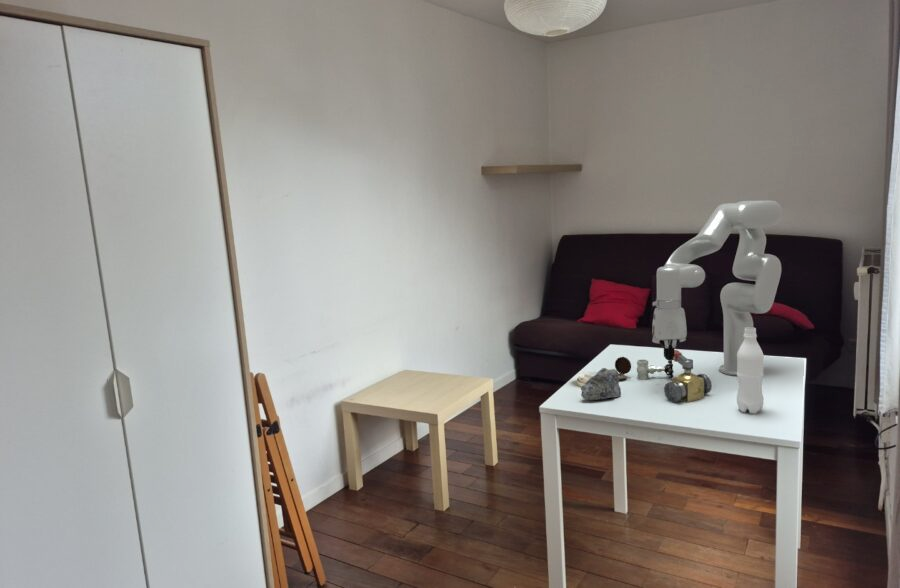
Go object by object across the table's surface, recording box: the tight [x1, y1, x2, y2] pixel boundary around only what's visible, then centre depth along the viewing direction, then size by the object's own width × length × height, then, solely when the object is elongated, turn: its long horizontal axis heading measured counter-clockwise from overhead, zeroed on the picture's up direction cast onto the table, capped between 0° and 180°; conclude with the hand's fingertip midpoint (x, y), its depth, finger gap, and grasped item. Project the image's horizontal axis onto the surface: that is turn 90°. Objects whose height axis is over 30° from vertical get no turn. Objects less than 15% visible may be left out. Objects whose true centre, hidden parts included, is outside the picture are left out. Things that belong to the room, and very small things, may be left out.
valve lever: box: [672, 349, 694, 371], centre depth 214 cm, size 15×3×3 cm, turn 1°
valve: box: [636, 358, 674, 381], centre depth 231 cm, size 7×7×12 cm
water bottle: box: [736, 326, 765, 415], centre depth 193 cm, size 7×7×25 cm
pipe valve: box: [663, 369, 713, 404], centre depth 209 cm, size 14×8×9 cm, turn 117°
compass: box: [614, 356, 632, 382], centre depth 233 cm, size 8×8×7 cm
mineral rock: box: [580, 367, 622, 401], centre depth 215 cm, size 13×11×10 cm
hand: (669, 359), depth 217 cm, fingers closed
